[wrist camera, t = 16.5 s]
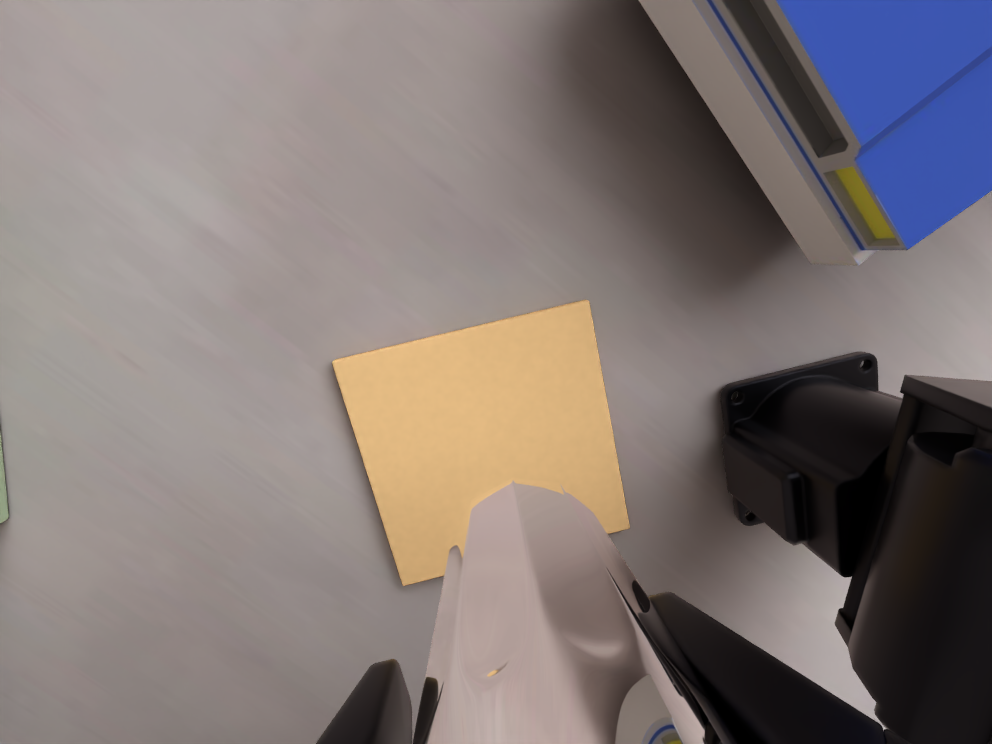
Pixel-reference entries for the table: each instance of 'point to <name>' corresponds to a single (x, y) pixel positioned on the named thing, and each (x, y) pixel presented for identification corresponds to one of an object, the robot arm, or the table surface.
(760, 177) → the toy car
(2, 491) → the chest
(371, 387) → the mat
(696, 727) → the milkshake
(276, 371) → the table surface
